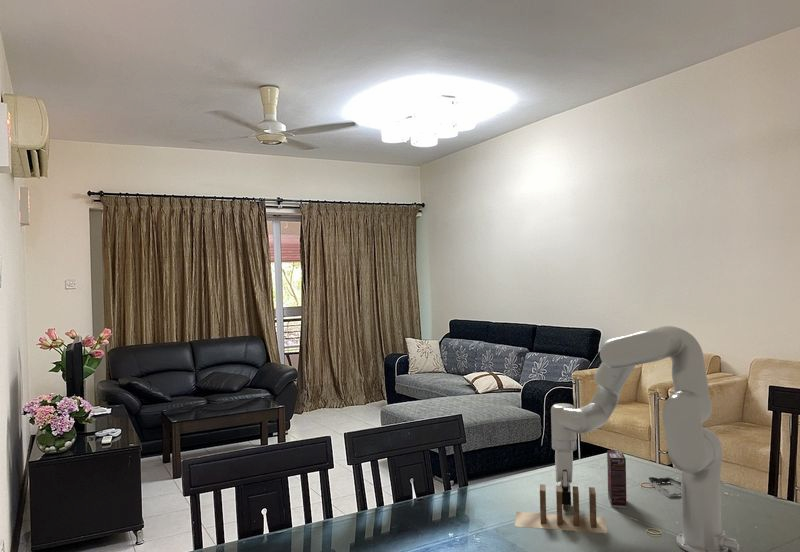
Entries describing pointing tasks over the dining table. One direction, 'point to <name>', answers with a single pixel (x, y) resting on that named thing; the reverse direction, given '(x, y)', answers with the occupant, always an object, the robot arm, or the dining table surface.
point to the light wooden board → (551, 522)
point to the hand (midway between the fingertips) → (565, 500)
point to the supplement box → (616, 478)
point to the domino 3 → (565, 507)
